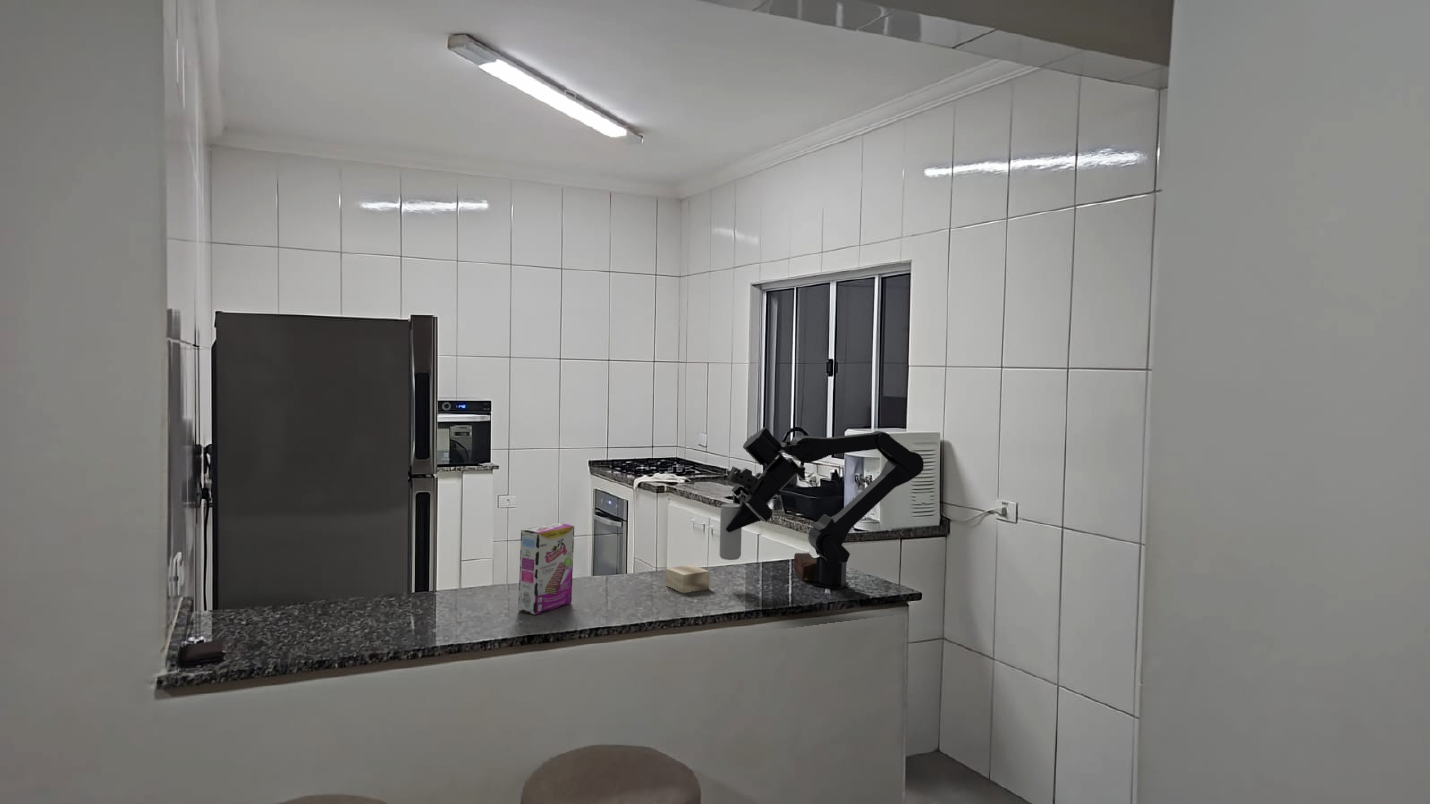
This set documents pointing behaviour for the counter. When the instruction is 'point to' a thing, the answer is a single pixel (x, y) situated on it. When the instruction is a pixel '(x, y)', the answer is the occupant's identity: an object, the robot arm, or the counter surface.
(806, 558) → the brick
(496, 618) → the counter surface
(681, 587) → the maple block
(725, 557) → the beverage can
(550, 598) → the candy bar box
